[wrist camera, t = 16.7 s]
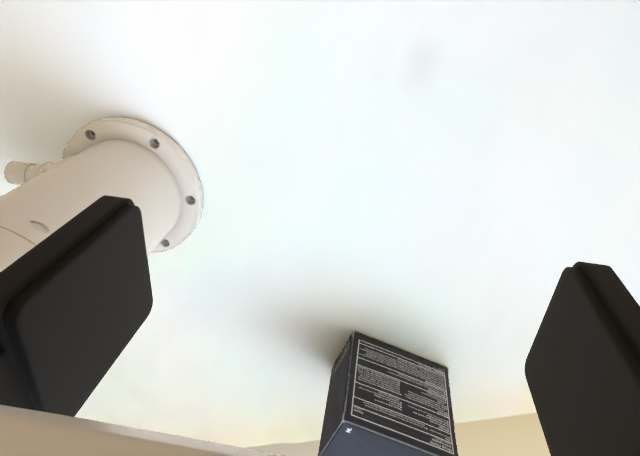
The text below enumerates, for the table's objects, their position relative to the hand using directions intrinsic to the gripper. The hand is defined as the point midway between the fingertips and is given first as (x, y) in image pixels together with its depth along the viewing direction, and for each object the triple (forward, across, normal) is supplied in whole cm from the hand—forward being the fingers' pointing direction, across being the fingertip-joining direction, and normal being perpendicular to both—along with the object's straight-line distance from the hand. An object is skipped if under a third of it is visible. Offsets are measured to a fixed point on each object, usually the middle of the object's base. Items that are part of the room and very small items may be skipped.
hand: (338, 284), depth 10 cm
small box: (+26, -5, +29) cm, 40 cm away
